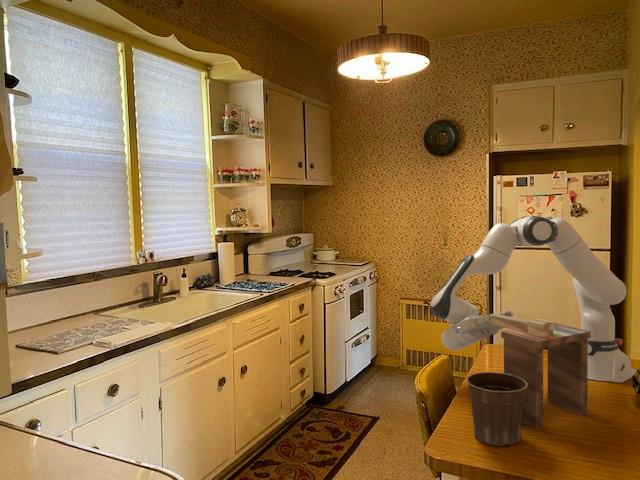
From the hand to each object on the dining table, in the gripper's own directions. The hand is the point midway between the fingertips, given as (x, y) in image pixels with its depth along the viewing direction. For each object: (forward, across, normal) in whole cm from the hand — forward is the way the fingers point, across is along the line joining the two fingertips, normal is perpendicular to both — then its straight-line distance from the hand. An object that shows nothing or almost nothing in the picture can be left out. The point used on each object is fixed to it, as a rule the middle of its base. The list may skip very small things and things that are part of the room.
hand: (500, 315), depth 158 cm
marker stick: (+4, +1, +6) cm, 7 cm away
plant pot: (-1, -18, +34) cm, 38 cm away
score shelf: (-4, +6, +32) cm, 33 cm away
